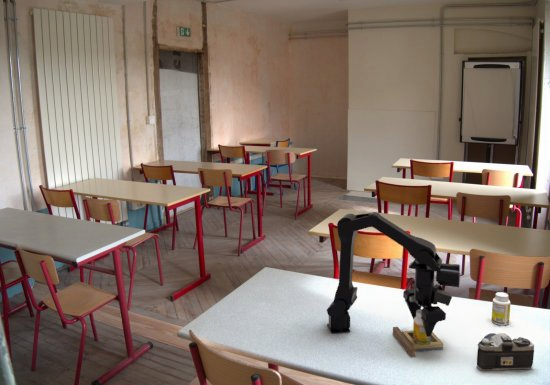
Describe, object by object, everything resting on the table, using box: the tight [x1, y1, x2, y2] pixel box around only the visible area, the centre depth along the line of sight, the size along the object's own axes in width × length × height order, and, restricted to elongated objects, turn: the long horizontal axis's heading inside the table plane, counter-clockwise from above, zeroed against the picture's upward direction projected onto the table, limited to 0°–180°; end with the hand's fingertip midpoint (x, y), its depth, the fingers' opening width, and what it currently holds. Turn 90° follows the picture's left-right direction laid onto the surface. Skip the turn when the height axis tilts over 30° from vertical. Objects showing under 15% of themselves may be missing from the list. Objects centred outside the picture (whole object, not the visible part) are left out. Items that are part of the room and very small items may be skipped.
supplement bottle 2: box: [491, 291, 511, 326], centre depth 168 cm, size 6×6×10 cm
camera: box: [476, 332, 535, 371], centre depth 143 cm, size 16×10×10 cm, turn 91°
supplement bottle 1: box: [412, 308, 431, 343], centre depth 155 cm, size 5×5×10 cm
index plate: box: [401, 329, 444, 353], centre depth 155 cm, size 10×10×2 cm
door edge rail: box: [392, 326, 417, 358], centre depth 155 cm, size 2×15×2 cm, turn 7°
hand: (422, 329), depth 155 cm, fingers open, 9 cm apart
